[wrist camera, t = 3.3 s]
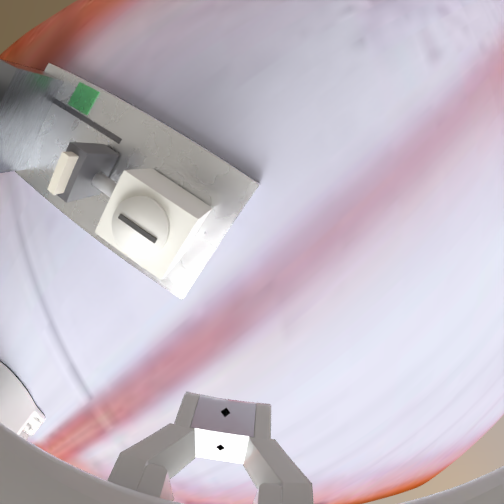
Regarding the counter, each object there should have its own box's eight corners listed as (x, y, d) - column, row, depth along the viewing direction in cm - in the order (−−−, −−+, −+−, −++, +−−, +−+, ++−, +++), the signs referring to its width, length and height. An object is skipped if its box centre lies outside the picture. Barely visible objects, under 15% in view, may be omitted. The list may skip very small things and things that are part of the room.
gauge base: (259, 183, 24) (256, 192, 15) (186, 292, 27) (157, 343, 19) (56, 65, 20) (4, 48, 12) (13, 161, 24) (-40, 168, 15)
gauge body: (212, 207, 23) (195, 221, 17) (181, 258, 24) (157, 284, 18) (125, 150, 21) (86, 149, 16) (100, 201, 23) (60, 212, 17)
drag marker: (119, 154, 22) (77, 153, 16) (99, 194, 23) (56, 205, 17) (103, 143, 21) (60, 141, 15) (84, 183, 22) (40, 191, 16)
